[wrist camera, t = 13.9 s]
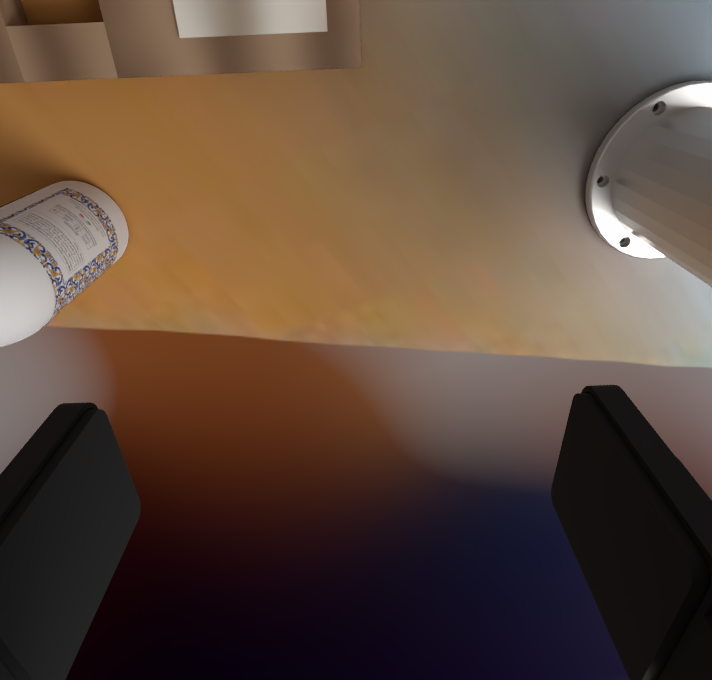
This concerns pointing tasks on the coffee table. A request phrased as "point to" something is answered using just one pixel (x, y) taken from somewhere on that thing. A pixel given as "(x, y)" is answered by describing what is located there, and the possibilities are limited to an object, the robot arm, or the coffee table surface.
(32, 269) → the bath foam
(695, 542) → the robot arm
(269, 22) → the walnut frame
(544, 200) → the coffee table surface
